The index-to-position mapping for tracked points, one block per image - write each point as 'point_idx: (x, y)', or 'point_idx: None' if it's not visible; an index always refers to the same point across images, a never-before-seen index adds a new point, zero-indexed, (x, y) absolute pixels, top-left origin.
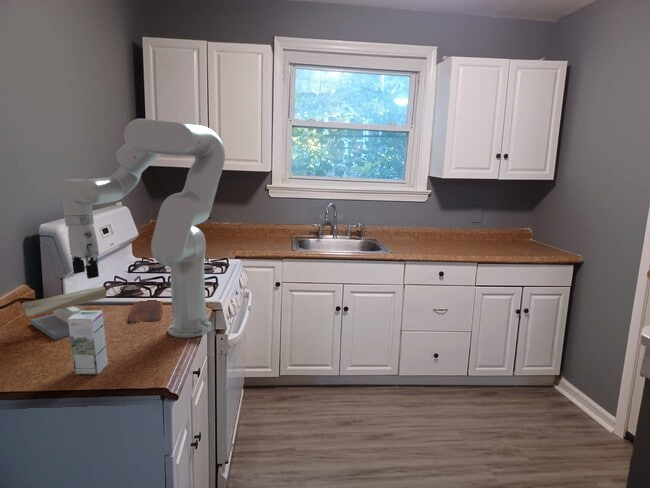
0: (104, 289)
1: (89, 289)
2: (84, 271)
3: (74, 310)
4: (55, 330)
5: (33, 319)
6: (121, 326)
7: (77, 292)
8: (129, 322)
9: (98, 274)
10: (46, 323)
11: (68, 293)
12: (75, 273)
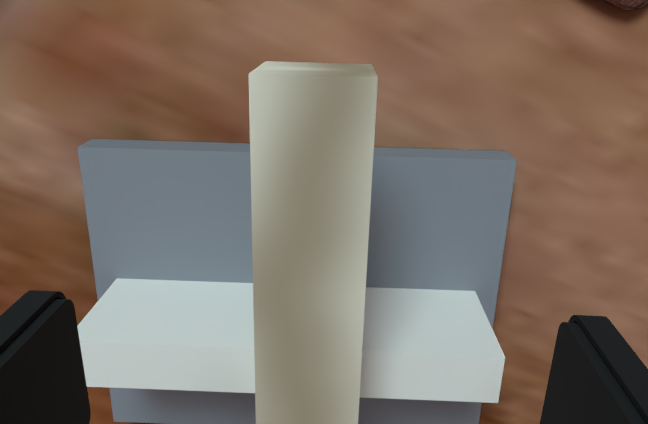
0: (374, 90)
1: (281, 222)
2: (63, 294)
3: (481, 387)
4: (416, 407)
5: (122, 412)
6: (628, 81)
7: (296, 341)
8: (633, 8)
9: (612, 331)
10: (254, 395)
11: (262, 400)
12: (82, 409)
